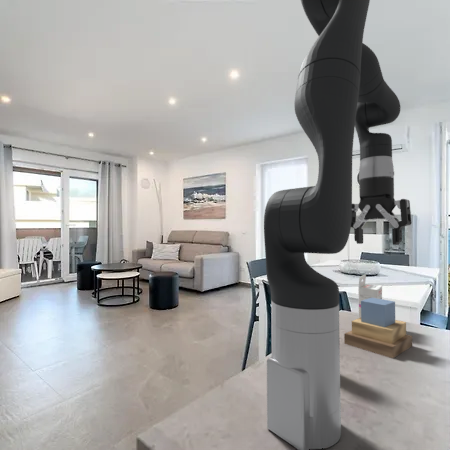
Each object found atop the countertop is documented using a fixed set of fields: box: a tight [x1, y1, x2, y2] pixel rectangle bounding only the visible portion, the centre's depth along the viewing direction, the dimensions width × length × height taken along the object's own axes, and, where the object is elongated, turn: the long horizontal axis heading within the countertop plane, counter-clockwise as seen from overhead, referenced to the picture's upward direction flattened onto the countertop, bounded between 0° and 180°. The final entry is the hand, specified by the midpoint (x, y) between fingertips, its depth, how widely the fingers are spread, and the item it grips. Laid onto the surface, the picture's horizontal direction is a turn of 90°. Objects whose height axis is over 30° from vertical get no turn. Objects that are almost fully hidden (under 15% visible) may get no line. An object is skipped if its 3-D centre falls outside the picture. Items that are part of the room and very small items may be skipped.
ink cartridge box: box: [358, 273, 383, 318], centre depth 83 cm, size 9×5×15 cm, turn 144°
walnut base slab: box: [343, 330, 413, 359], centre depth 71 cm, size 11×11×3 cm
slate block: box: [361, 298, 396, 327], centre depth 71 cm, size 6×6×5 cm
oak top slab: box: [351, 317, 407, 344], centre depth 71 cm, size 9×9×3 cm
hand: (377, 244), depth 72 cm, fingers open, 8 cm apart
